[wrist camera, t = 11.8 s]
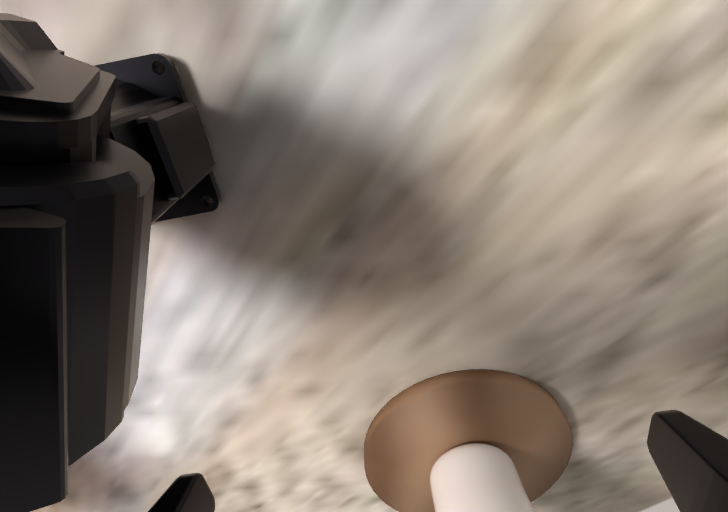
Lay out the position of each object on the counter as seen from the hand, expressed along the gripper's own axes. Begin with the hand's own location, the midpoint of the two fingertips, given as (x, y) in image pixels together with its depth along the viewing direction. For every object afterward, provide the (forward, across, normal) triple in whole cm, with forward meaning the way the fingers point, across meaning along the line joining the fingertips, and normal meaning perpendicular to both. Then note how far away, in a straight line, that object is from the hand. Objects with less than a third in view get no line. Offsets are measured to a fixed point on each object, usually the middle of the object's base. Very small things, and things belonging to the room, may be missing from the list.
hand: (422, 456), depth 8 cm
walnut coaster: (+13, -3, +17) cm, 21 cm away
